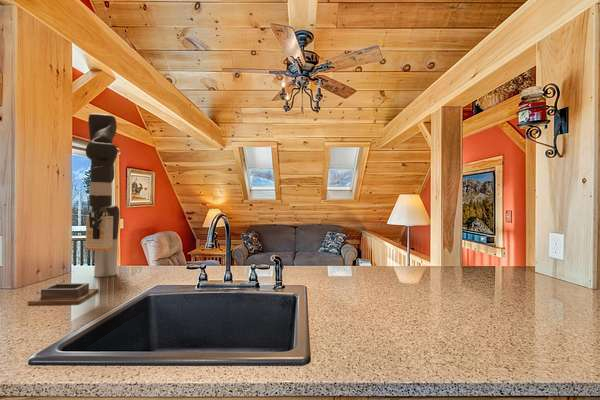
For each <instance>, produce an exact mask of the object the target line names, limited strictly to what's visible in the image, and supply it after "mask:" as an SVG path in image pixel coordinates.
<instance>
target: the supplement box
mask: <svg viewBox="0 0 600 400" xmlns="http://www.w3.org/2000/svg"><path fill="white" fill-rule="evenodd" d="M85 217H86V218H85V219H86V220H85V251H95V250H105V251H106V250H110V249H113V216H103V217H100V218H102V223H101V224H100V238H99V239H93V229H92V228H90V221H89V215H87V216H85ZM99 220H100V219H98V221H99ZM92 224H93V223H92Z"/></svg>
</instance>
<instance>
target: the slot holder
mask: <svg viewBox="0 0 600 400" xmlns="http://www.w3.org/2000/svg"><path fill="white" fill-rule="evenodd" d="M89 285H90V283H86V282H85V283H81V282H80V283H79V282H78V283H76V282H75V283H70V282H69V283H53V284H50V285H48V286H46V287H43V288H42V289H40V295H38V296H36V297H34V298H32V299H30V300H28V301H27V305H28V306H30V305H32V306H33V305H35V306H37V305H41V306H43V305H44V306H45V305H80V304H81V303H83V302H84V301H86V300H88V299H90V298H91V297H92V296H94V295H96V294H97V293H99V288H90V286H89Z"/></svg>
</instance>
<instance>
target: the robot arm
mask: <svg viewBox="0 0 600 400" xmlns="http://www.w3.org/2000/svg"><path fill="white" fill-rule="evenodd" d="M87 119H88V123H87V124H88V132H89V133H88V135H89V142H88V144H87V145H86V148H85V156H86V157H87V158H88V159H89V160H90V167H91V168H90V184H89V189H88V190H89V193H88V196H89V197H88V206H89V207H91V211H89V213H88V216H89V221H90V228H92V229H93V239H99V238H100V224H101V223H102V218H100V217H103V216H113V249H110V250H106V251H105V250H94V271H93V272H94V274H93V275H94V277H98V278H106V277H107V278H108V277H113V276H115V275H117V269H118V235H119V227H120V226H119V223H120V208H119V206H117V205H114V204H112V202H113V201H112V200H113V199H112V198H113V197H112V195H113V187H112V183H113V182H114V179H115V161H116V159H117V157H118V156H117V155H118V147H117V146H116V145H115V144H114V143H113V140H114V138H115V137H116V133H117V126H118V125H117V119H116V118H115V116H113V115H112V114H105V113H103V114H102V113H89V115H88V118H87ZM98 219H100V220H99V221H98ZM92 223H93V224H92Z"/></svg>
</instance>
